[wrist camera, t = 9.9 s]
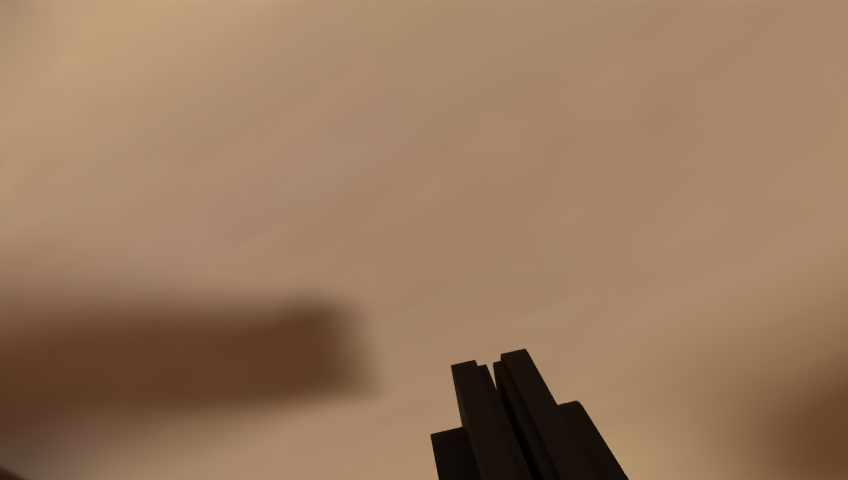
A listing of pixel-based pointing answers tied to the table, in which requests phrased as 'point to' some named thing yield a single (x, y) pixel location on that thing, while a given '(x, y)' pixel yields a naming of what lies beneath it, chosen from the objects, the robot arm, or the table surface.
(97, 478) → the table surface
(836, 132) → the table surface
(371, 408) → the table surface
